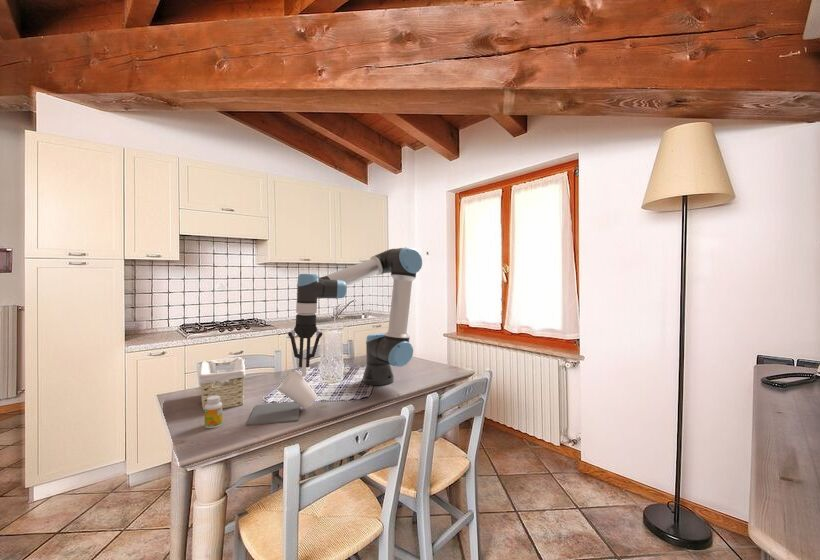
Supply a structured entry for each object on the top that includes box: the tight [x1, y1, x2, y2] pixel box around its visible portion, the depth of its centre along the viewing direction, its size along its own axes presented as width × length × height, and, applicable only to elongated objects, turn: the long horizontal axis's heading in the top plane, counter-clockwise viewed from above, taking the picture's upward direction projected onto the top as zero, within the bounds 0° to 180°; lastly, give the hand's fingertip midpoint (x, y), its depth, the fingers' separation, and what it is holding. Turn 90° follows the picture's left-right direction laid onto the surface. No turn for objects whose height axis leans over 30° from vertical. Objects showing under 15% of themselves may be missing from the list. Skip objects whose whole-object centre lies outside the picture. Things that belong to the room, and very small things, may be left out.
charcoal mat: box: [246, 401, 302, 427], centre depth 133 cm, size 17×18×1 cm
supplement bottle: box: [204, 396, 224, 429], centre depth 123 cm, size 5×5×10 cm
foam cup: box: [276, 369, 318, 409], centre depth 136 cm, size 10×9×13 cm
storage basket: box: [198, 356, 246, 411], centre depth 147 cm, size 24×16×15 cm
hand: (303, 375), depth 136 cm, fingers closed
